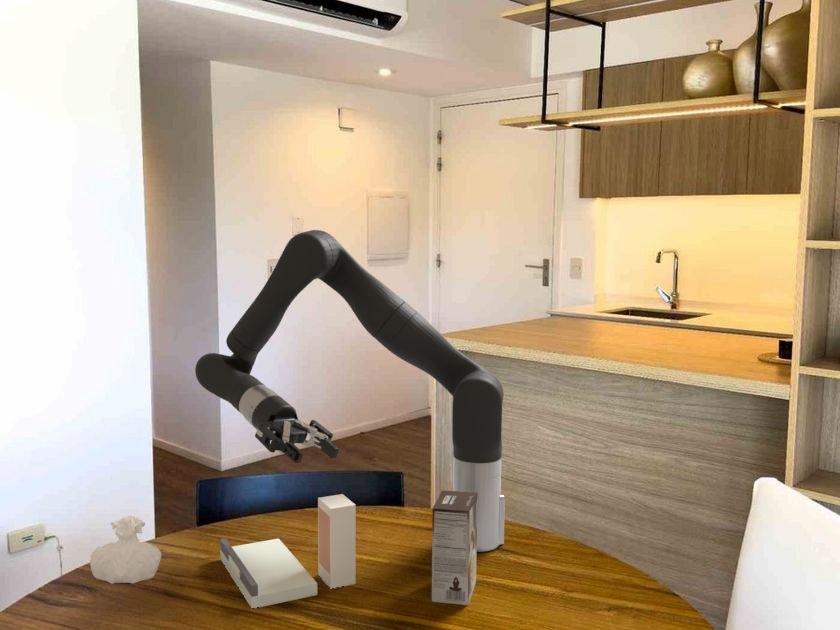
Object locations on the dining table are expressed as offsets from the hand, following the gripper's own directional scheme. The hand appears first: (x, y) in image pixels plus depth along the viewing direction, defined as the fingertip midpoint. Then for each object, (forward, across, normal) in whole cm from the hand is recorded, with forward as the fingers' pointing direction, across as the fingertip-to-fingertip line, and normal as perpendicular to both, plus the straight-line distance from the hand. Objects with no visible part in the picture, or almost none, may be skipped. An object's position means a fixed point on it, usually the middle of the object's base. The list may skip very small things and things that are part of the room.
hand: (318, 456), depth 141 cm
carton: (+14, 0, +16) cm, 21 cm away
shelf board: (+5, -7, +21) cm, 22 cm away
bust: (-11, -23, +29) cm, 39 cm away
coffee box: (+30, +10, +9) cm, 33 cm away
